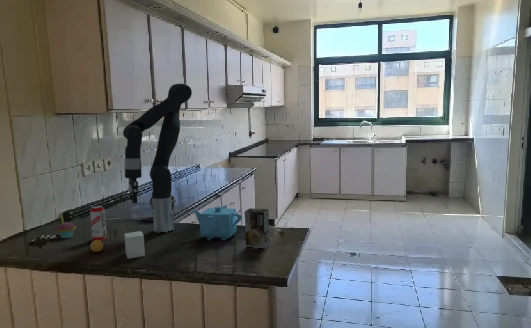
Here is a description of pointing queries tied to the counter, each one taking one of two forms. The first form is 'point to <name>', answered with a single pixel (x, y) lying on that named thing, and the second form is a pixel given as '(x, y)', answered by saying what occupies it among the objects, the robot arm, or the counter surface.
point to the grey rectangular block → (134, 244)
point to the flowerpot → (171, 203)
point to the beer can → (98, 223)
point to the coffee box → (257, 228)
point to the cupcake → (66, 229)
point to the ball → (96, 246)
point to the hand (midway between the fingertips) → (133, 201)
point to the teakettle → (218, 222)
